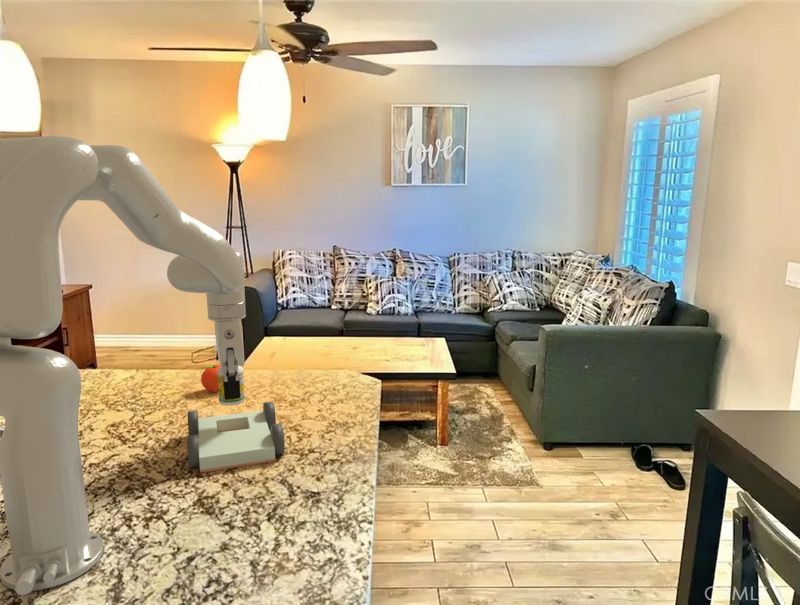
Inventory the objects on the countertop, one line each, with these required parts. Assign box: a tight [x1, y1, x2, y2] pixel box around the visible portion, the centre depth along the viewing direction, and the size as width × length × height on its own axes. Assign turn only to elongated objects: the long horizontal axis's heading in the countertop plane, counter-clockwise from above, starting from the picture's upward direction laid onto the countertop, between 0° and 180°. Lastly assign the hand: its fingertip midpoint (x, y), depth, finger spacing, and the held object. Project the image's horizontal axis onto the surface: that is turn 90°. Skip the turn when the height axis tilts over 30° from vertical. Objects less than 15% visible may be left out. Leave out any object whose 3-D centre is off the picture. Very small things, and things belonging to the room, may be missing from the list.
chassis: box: [186, 401, 286, 473], centre depth 118 cm, size 20×18×6 cm
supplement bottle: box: [217, 361, 246, 407], centre depth 120 cm, size 5×5×10 cm
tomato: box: [199, 364, 221, 393], centre depth 150 cm, size 8×7×7 cm
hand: (231, 392), depth 121 cm, fingers closed on supplement bottle, 5 cm apart
